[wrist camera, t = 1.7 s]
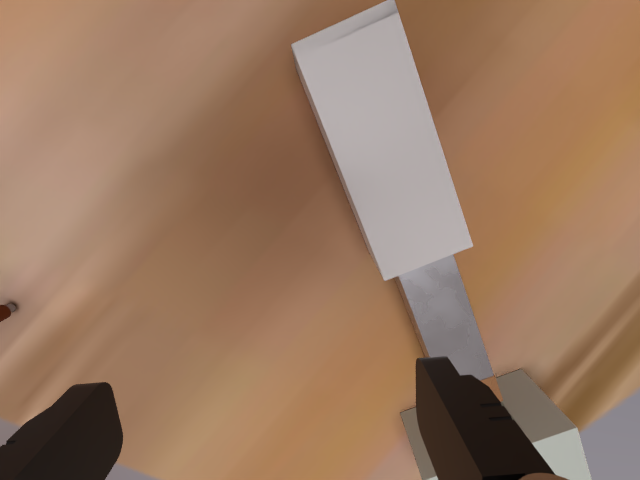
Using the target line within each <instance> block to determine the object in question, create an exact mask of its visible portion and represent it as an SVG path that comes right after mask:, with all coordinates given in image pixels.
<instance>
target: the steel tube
mask: <svg viewBox="0 0 640 480" xmlns="http://www.w3.org/2000/svg"><path fill="white" fill-rule="evenodd" d="M394 278H395V280H396V283H397V285H398V288H399V291H400V293H401V296H402V298H403V301H404V304H405V306H406V309H407V311H408V314H409V316H410V319H411V322H412V324H413V327H414V329H415V332H416V335H417V337H418V340H419V342H420V345H421V348H422V350H423V353H424V355H425V358H427V357H440V356H447V357H448V358H449V360H450V361H451V363H452V364H453V366H454V367H455V369H456V370H457V371H458V373H459V374H460V375H472V376H474V377H475V378H477V379H478V380H480V381H481V382H483V383H484V384H486V385H487V386H489V387H490V389H491V390H492V391H493V393H494V394H495V395H496V397H497V398H498V399H499V401H500V402H502V401H503V398H502V395H501V392H500V389H499V386H498V383H497V380H496V377H495V375H494V374H493V371H492V368H491V365H490V362H489V359H488V356H487V353H486V350H485V347H484V344H483V342H482V339H481V336H480V333H479V330H478V327H477V324H476V321H475V318H474V315H473V312H472V309H471V306H470V303H469V300H468V297H467V294H466V291H465V288H464V285H463V282H462V279H461V276H460V273H459V270H458V267H457V264H456V261H455V258H454V255H453V254H452V255H450V256H447V257H445V258H442V259H440V260H437V261H434V262H432V263H429V264H427V265H424V266H422V267H419V268H417V269H414V270H412V271H409V272H407V273H404V274H401V275H399V276H396V277H394Z"/></svg>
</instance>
